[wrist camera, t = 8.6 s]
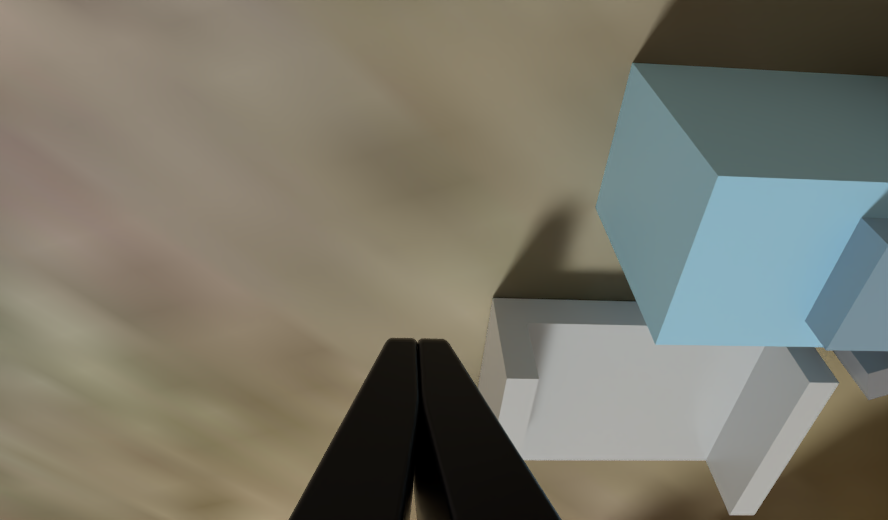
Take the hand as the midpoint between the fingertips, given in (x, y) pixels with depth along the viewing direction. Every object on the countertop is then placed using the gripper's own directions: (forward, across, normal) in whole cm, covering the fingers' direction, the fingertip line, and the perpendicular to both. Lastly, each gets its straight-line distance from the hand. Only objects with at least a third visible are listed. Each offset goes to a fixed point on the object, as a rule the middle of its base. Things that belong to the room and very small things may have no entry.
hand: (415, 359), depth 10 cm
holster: (+7, -7, +8) cm, 13 cm away
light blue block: (+7, -8, 0) cm, 11 cm away
